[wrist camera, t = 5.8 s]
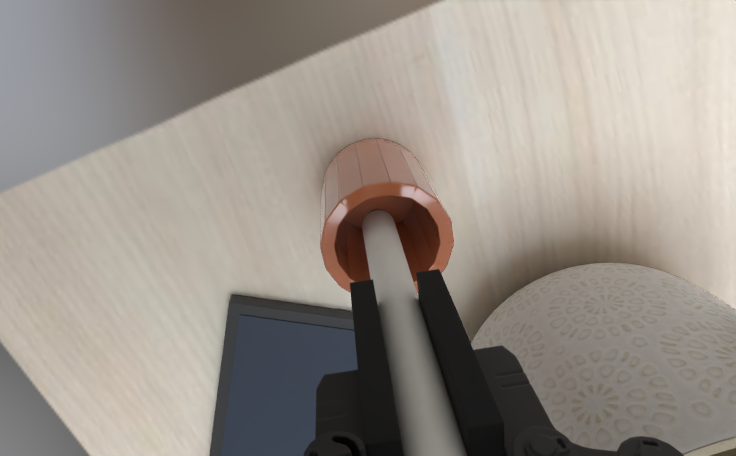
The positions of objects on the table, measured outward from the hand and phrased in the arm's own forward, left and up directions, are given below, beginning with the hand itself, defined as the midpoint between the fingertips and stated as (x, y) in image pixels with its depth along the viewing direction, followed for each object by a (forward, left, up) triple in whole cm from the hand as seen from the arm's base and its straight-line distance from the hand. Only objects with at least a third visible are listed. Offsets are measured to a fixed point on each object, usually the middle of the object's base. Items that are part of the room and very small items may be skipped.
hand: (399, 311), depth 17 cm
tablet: (-1, -16, -12) cm, 20 cm away
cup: (0, 0, -12) cm, 12 cm away
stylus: (0, 0, -8) cm, 8 cm away
